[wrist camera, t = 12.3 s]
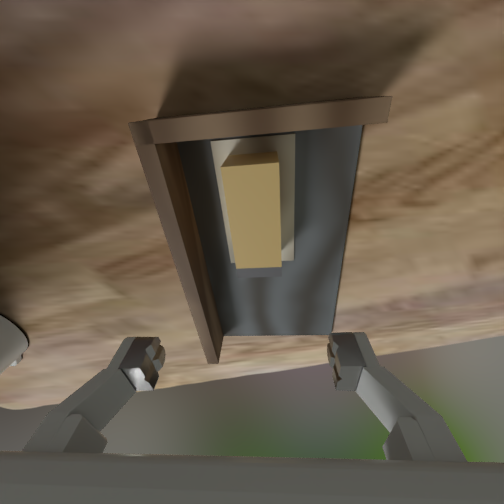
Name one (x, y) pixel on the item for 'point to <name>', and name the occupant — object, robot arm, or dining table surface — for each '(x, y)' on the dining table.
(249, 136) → the gray brown tray
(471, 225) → the dining table surface
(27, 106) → the dining table surface
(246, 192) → the ochre bar
